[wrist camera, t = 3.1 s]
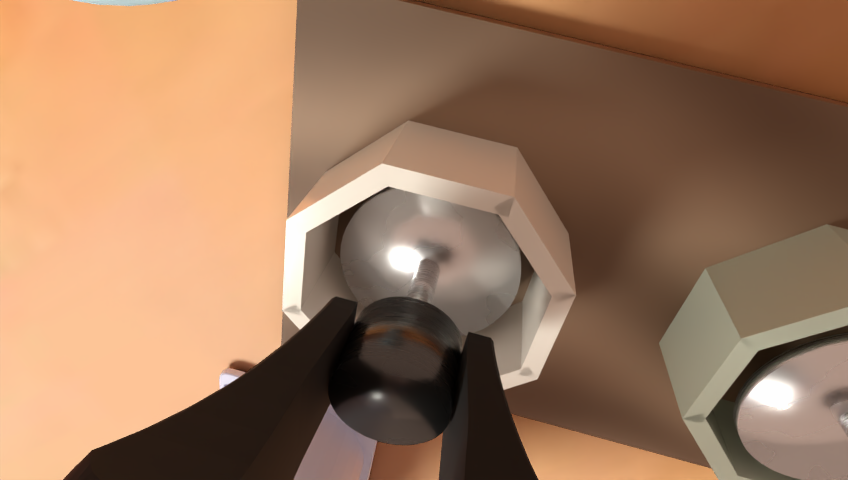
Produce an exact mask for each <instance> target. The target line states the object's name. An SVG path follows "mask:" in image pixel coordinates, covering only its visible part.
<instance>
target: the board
mask: <svg viewBox="0 0 848 480" xmlns="http://www.w3.org/2000/svg"><path fill="white" fill-rule="evenodd" d="M408 120H409V121H413V122H417V123H421V124H425V125H429V126H433V127H437V128H441V129H445V130H449V131H453V132H457V133H461V134H465V135H469V136H473V137H477V138H481V139H485V140H489V141H493V142H497V143H501V144H505V145H509V146H514V147H518V149H519V151H520V153H521V154H522V156H523V158H524V159H525V161H526V163H527V165H528V166H529V168H530V170H531V171H532V173H533V175H534V176H535V178H536V180H537V181H538V183H539V185H540V186H541V188H542V190H543V191H544V193H545V195H546V196H547V198H548V200H549V201H550V203H551V205H552V207H553V208H554V210H555V212H556V213H557V215H558V217H559V218H560V220H561V222H562V223H563V225H564V227H565V228H566V230H567V232H568V234H569V242H570V250H571V258H572V266H573V274H574V282H575V290H576V297H575V299H574V301H573V303H572V305H571V307H570V310H569V312H568V314H567V316H566V318H565V320H564V323H563V325H562V327H561V329H560V331H559V333H558V336H557V338H556V340H555V342H554V344H553V347H552V349H551V351H550V353H549V355H548V357H547V360H546V362H545V364H544V366H543V368H542V370H541V373H540V375H539V377H538V379H537V380H534V381H530V382H527V383H524V384H521V385H518V386H515V387H511V388H508V389H505V390H504V393H505V396H506V399H507V402H508V406H509V409H510V412H511V414H514V415H518V416H522V417H525V418H529V419H533V420H536V421H540V422H544V423H547V424H551V425H555V426H558V427H562V428H566V429H569V430H573V431H577V432H580V433H584V434H588V435H591V436H595V437H599V438H602V439H606V440H610V441H613V442H617V443H621V444H624V445H628V446H632V447H635V448H639V449H643V450H646V451H650V452H654V453H657V454H661V455H665V456H668V457H672V458H676V459H679V460H683V461H687V462H690V463H694V464H698V465H701V466H705V467H709V468H711V466H710V464H709V463H708V461H707V459H706V458H705V456H704V454H703V453H702V451H701V449H700V447H699V446H698V444H697V442H696V441H695V439H694V437H693V436H692V434H691V432H690V431H689V429H688V427H687V426H686V424H685V422H684V420H683V419H682V417H681V413H680V410H679V407H678V403H677V400H676V397H675V394H674V390H673V387H672V384H671V381H670V377H669V374H668V371H667V368H666V364H665V361H664V358H663V355H662V351H661V348H660V345H659V342H660V341H661V339H662V337H663V336H664V334H665V332H666V331H667V329H668V328H669V326H670V324H671V323H672V321H673V320H674V318H675V316H676V315H677V313H678V311H679V310H680V308H681V307H682V305H683V303H684V302H685V300H686V299H687V297H688V295H689V294H690V292H691V291H692V289H693V287H694V286H695V284H696V282H697V281H698V279H699V278H700V276H701V274H702V273H703V271H704V270H705V268H707V267H710V266H713V265H715V264H718V263H721V262H724V261H726V260H729V259H732V258H735V257H737V256H740V255H743V254H746V253H749V252H751V251H754V250H757V249H760V248H762V247H765V246H768V245H771V244H774V243H776V242H779V241H782V240H785V239H787V238H790V237H793V236H796V235H799V234H801V233H804V232H807V231H810V230H812V229H815V228H818V227H821V226H823V225H826V224H827V225H831V226H836V227H840V228H844V229H848V103H845V102H840V101H836V100H832V99H828V98H824V97H819V96H815V95H811V94H807V93H802V92H798V91H794V90H790V89H786V88H781V87H777V86H773V85H769V84H765V83H760V82H756V81H752V80H748V79H743V78H739V77H735V76H731V75H727V74H722V73H718V72H714V71H710V70H706V69H701V68H697V67H693V66H689V65H684V64H680V63H676V62H672V61H668V60H663V59H659V58H655V57H651V56H647V55H642V54H638V53H634V52H630V51H625V50H621V49H617V48H613V47H609V46H604V45H600V44H596V43H592V42H588V41H583V40H579V39H575V38H571V37H566V36H562V35H558V34H554V33H550V32H545V31H541V30H537V29H533V28H529V27H524V26H520V25H516V24H512V23H507V22H503V21H499V20H495V19H491V18H486V17H482V16H478V15H474V14H470V13H465V12H461V11H457V10H453V9H448V8H444V7H440V6H436V5H432V4H427V3H423V2H419V1H415V0H297V20H296V42H295V63H294V84H293V106H292V127H291V149H290V170H289V191H288V213H287V219H288V217H289V216H290V215H291V214H292V212H293V211H294V210H295V209H296V208H297V206H298V205H299V204H300V203H301V201H302V200H303V199H304V198H305V197H306V195H307V194H308V193H309V192H310V190H311V189H312V188H313V187H314V186H315V184H316V183H317V182H318V181H319V179H320V178H321V177H322V176H323V175H324V173H325V172H326V171H328V170H329V169H331V168H333V167H334V166H336V165H337V164H339V163H341V162H342V161H344V160H345V159H347V158H349V157H350V156H352V155H353V154H355V153H357V152H358V151H360V150H362V149H363V148H365V147H366V146H368V145H370V144H371V143H373V142H374V141H376V140H378V139H379V138H381V137H382V136H384V135H386V134H387V133H389V132H391V131H392V130H394V129H395V128H397V127H399V126H400V125H402V124H403V123H405V122H407V121H408ZM386 188H388V187H386ZM386 188H384V189H386ZM384 189H382V190H384ZM382 190H380V191H382ZM380 191H379V192H380ZM377 193H378V192H377ZM375 194H376V193H375ZM375 194H373V195H375ZM373 195H372V196H373ZM372 196H370V197H372ZM370 197H368V198H366V199H365V200H363V201H361V202H359V203H357V204H356V205H354V206H352V207H350V208H349V209H347V210H345V211H343V212H342V213H340V214H339V218H338V227H337V236H336V245H335V253H336V254H337V255H338V257H339V258H340V251H341V242H342V238H343V235H344V232H345V229H346V227H347V225H348V224H349V222H350V220H351V218H352V217H353V215H354V213H355V212H356V211H357V210H358V208H359V207H360V206H361V205H362V204H363V203H364V202H365V201H366V200H368V199H369V198H370ZM518 246H519V245H518ZM519 250H520V255H521V278H520V285H519V288H518V292H517V294H516V296H515V298H514V301H513V302H512V304H511V305H510V306H512V305H514V304H517V303H519V302H522V301H523V299H524V296H525V293H526V291H527V288H528V286H529V283H530V280H531V278H532V275H533V273H534V268H533V267H532V265H531V264H530V262H529V261H528V259H527V258H526V256H525V254H524V253H523V251H522V250H521V248H520V247H519ZM340 259H341V258H340ZM299 330H300V329H299V328H298V327H297V326H296V325H295V324H294V323H293V322H292V321H291V320H290V319H289V317H288V316H287V315H286V314H285V313H284V312H283V320H282V341H281V346H282V345H283V344H284V343H285V342H286V341H288V340H289V339H290V338H291V337H292V336H293V335H294V334H296V333H297V332H298V331H299ZM842 333H848V325H847V326H843V327H840V328H836V329H833V330H829V331H826V332H822V333H819V334H815V335H812V336H808V337H805V338H801V339H798V340H794V341H791V342H787V343H784V344H780V345H776V346H773V347H769V348H766V349H762V350H759V351H758V352H757V353H756V354H755V355H754V357H753V358H752V359H751V361H750V362H749V363H748V364H747V366H746V367H745V368H744V370H743V371H742V372H741V373H740V375H739V376H738V377H737V379H736V380H735V381H734V382H733V384H732V385H731V386H730V388H729V389H728V390H727V391H726V393H725V394H724V395H723V396H722V398H721V399H723V400H727V401H730V402H734V403H735V401H736V398H737V396H738V394H739V391H740V390H741V388H742V387H743V385H744V384H745V382H746V381H747V380H748V379H749V378H750V377H751V376H752V374H753V373H754V372H756V371H757V370H758V369H759V368H760V367H762V366H763V365H764V364H765V363H767V362H768V361H770V360H771V359H773V358H774V357H776V356H778V355H780V354H782V353H784V352H785V351H787V350H789V349H792V348H794V347H796V346H799V345H801V344H804V343H807V342H810V341H813V340H816V339H819V338H823V337H827V336H832V335H836V334H842Z"/></svg>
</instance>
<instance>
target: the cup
mask: <svg viewBox="0 0 848 480" xmlns="http://www.w3.org/2000/svg"><path fill="white" fill-rule="evenodd" d="M74 1H80V2H85V3H91V4H99V5H121V6H136V5H149V4H156V3H163V2H169V1H176V0H74Z"/></svg>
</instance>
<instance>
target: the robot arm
mask: <svg viewBox="0 0 848 480" xmlns="http://www.w3.org/2000/svg"><path fill="white" fill-rule="evenodd" d="M357 304H358V302H355V301H352V300H348V299H344V298H340V297H337V296H336V297H334V298H332V299H331V300H330V301H329V302H328V303H327V304H326V305H325V306H324V307H323V308H322V309H321V310H320V311H319V312H318V313H317V314H316V315H315V316H314V317H313V318H312V319H311V320H310V321H309V322H308V323H307V324H306V325H305V326H304V327H303V328H301V329H300V330H299V331H298V332H297V333H296V334H294V335H293V336H292V337H291V338H290V339H289V340H288V341H286V342H285V343H284V344H283V345H282V346H280V347H279V348H278V349H277V350H275V351H274V352H273V353H271V354H270V355H269V356H268V357H266V358H265V359H264V360H262V361H261V362H260V363H259V364H257V365H256V366H254V367H253V368H252V369H250V370H249V371H247V372H243V371H239V370H236V369H232V368H227V369H224V370H223V371H222V373H221V374H220V377H219V382H220V390H218V391H216V392H215V393H213V394H211V395H210V396H208V397H206V398H204V399H203V400H201V401H199V402H197V403H196V404H194V405H192V406H190V407H188V408H186V409H184V410H182V411H180V412H178V413H176V414H174V415H172V416H170V417H168V418H166V419H164V420H162V421H160V422H158V423H156V424H154V425H152V426H150V427H148V428H145V429H143V430H141V431H139V432H136V433H134V434H131V435H129V436H126V437H124V438H121V439H119V440H117V441H114V442H112V443H109V444H107V445H104V446H102V447H99V448H97V449H94V450H92V451H91V452H90V453H89V454H88V455H87V456H86V457H85V458H84V459H83V460H82V461H81V462H80V463H79V464H78V465H76V466H75V467H74V469H73V470H72V471H71V472H70V473H69V474H68V475H67V476H66V477H65V478H64V479H63V480H369V476H370V471H371V467H372V462H373V458H374V453H375V449H376V445H377V441H376V440H373V439H371V438H368V437H366V436H364V435H362V434H360V433H358V432H356V431H355V430H353V429H352V428H350V427H349V426H348V425H347V424H345V423H344V422H343V421H342V420H341V419H340V417H339V416H338V415H337V414H336V412H335V411H334V409H333V408H332V406H331V403H330V400H329V396H328V385H329V381H330V379H331V377H332V374H333V372H334V370H335V368H336V365H337V363H338V361H339V358H340V356H341V354H342V352H343V349H344V347H345V345H346V342H347V340H348V338H349V336H350V333H351V331H352V329H353V326H354V323H355V317H356V310H357ZM439 480H538V478H537V476H536V474H535V472H534V470H533V468H532V465H531V463H530V461H529V459H528V457H527V454H526V452H525V449H524V447H523V445H522V442H521V440H520V437H519V434H518V432H517V429H516V426H515V424H514V421H513V418H512V415H511V412H510V409H509V406H508V402H507V399H506V396H505V393H504V389H503V386H502V382H501V378H500V374H499V370H498V365H497V361H496V355H495V349H494V342H493V340H492V339H491V338H490V337H486V336H483V335H479V334H475V333H471V332H468V334H467V337H466V340H465V344H464V347H463V350H462V353H461V358H460V364H459V370H458V376H457V383H456V389H455V396H454V402H453V408H452V414H451V419H450V422H449V424H448V426H447V427H446V429H445V430H444V431H443V440H442V450H441V461H440V472H439Z"/></svg>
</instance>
